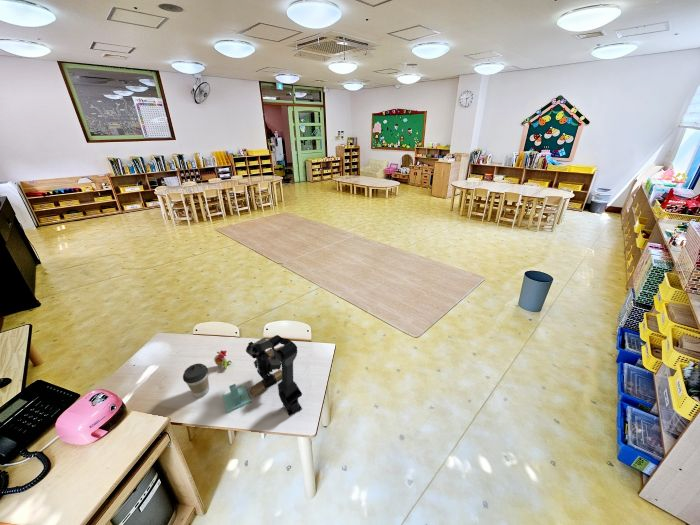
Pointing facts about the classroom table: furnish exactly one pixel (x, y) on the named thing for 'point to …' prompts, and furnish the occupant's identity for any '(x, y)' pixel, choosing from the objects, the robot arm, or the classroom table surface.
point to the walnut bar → (260, 387)
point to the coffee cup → (197, 379)
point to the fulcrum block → (235, 398)
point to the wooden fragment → (271, 352)
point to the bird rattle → (221, 359)
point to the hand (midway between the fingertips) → (267, 383)
